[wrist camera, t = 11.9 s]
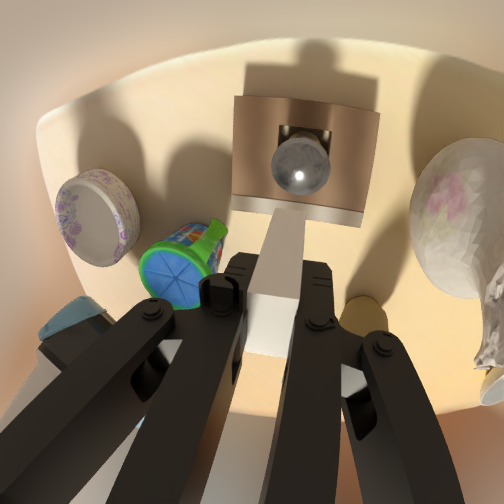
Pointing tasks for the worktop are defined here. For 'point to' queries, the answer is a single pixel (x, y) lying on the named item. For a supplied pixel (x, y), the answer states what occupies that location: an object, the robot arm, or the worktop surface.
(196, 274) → the snack cup
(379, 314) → the squeeze bottle
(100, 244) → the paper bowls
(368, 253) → the worktop surface
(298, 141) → the metal capped cylinder
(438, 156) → the ceramic pitcher
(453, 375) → the worktop surface
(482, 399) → the serving bowl
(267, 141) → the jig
